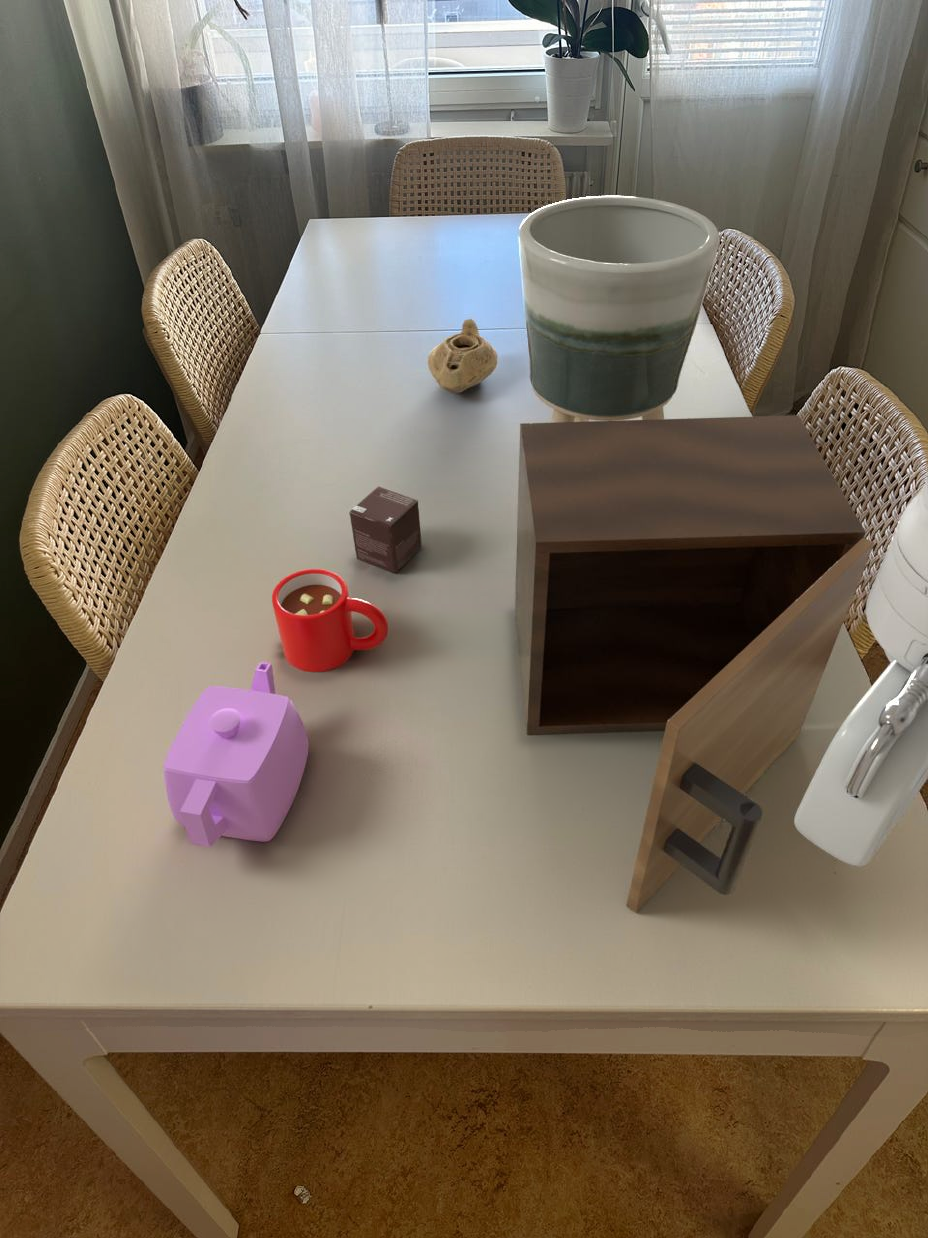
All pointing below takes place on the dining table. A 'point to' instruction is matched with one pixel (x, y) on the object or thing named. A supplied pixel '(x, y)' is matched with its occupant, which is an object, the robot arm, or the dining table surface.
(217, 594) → the dining table surface
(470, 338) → the oil lamp
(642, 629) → the cupboard
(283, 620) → the mug
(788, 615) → the cupboard door
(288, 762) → the teapot
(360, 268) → the dining table surface
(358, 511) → the box
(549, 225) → the planter
